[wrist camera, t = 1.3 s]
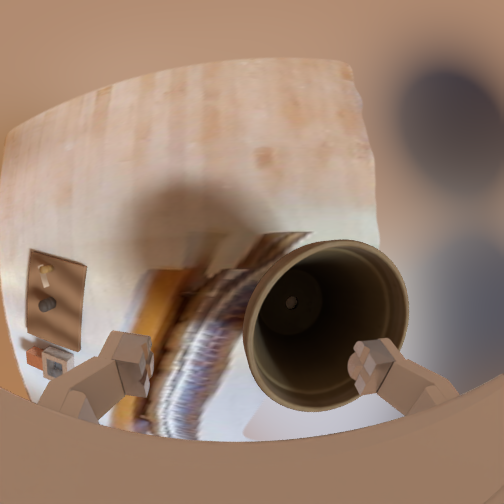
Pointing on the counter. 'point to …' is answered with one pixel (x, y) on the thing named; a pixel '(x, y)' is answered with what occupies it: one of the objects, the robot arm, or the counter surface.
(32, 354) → the flange
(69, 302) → the post board
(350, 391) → the plant pot
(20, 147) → the counter surface
